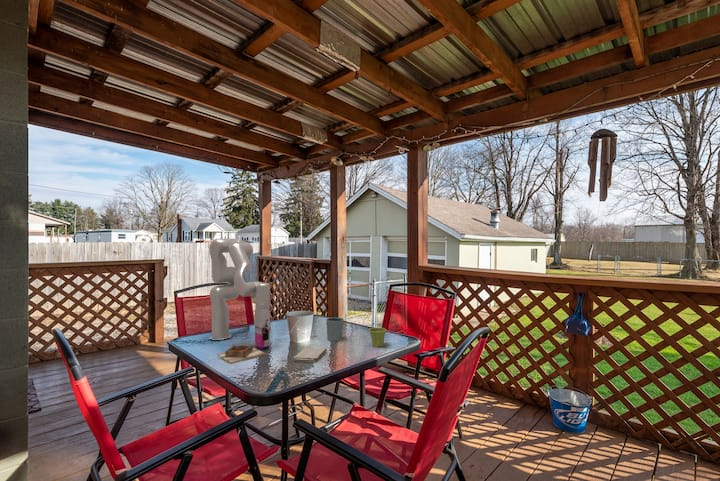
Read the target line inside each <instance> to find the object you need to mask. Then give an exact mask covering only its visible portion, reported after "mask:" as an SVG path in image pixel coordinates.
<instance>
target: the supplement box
mask: <svg viewBox="0 0 720 481" xmlns="http://www.w3.org/2000/svg"><path fill="white" fill-rule="evenodd" d="M265 327H266V326H265ZM266 329H267V328H265V330H266ZM263 333H264V332H263V328H259V327H257V326H255V325H254V348H256V349H257V348H258V349H265V348H268V347H271V337H270V336H271V330H269V340H266V341H263Z"/></svg>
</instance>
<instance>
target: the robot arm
mask: <svg viewBox="0 0 720 481" xmlns="http://www.w3.org/2000/svg"><path fill="white" fill-rule="evenodd" d="M253 247H254V246H252V244H251V243H250V242H248V241H244V240H242V239H239V238H216V239H215V238H214V239H213V240H211V242H210V244H209V247H208V248H209V249H208V252H209V256H210V260H211V261H210V262H211V280H212V282H213V283H215V284H221V285H215V286H213V287H212V288H210V292H209V298H210V303H211V304H210V305H211V336H212V338H211V339H215V340H221V339H227V338H230V337H231V338H232V337H233V335H232V334H230V308H229V305H228V304H227V302H226V301H231V300H236V299H238V297H239V296H241V297H243V298H244V297H245V298H246V297H250V296H251V297H252V296H255V300H254V301H255V306H254V307H255V309H254V315H253V316H254V318H253V326H254V327H255V326H257V327H259V328H263V332H264V333H263V341H266V340H269V330H270V329H271V328H272V327H271V326H272V325H271V311H270V308H271V306H270V305H271V286H270V285H271V284H270V283H269V282H261V281H258V280H257V281H255V280H254V281H249V282H248V281H247V282H246V281H245V278H244V277H243V274H244V272H246V271H248V270H249V269H250V268H251V266H252V263H251V261H250V258H249V257H251V256H252V255H253V254H254V248H253ZM226 253H227V254H229V255H230V258H231V261H232V263H233V265H234V266H228V264H227V263H228V260H227V258H226V256H225V255H224V254H226ZM226 283H227V284H226ZM265 326H266V327H265ZM265 328H267V329H266V330H265ZM270 331H271V330H270ZM231 338H230V339H231ZM227 340H228V339H227Z"/></svg>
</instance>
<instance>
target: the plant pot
mask: <svg viewBox="0 0 720 481" xmlns="http://www.w3.org/2000/svg"><path fill="white" fill-rule="evenodd" d="M368 332H369V333H370V338H371V345H372V346H373V347H375V348H378V347H380V348H382V347H384V343H385V336H386V332H387V329H386V328H384V327H373V328H369V331H368Z"/></svg>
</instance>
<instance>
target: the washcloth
mask: <svg viewBox="0 0 720 481" xmlns="http://www.w3.org/2000/svg"><path fill="white" fill-rule="evenodd" d="M326 353H327V348H324V347H317V348H316V347H305V348H303V349H302V350H300V351H299V352H298V353H297V354H296V355H294V356H293V357H292V359H293V361H292V362H293V363H294V362H295V363H303V364H314V363H317V362H318V361H320V360H321V358H323V356H324V355H325V354H326Z"/></svg>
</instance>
